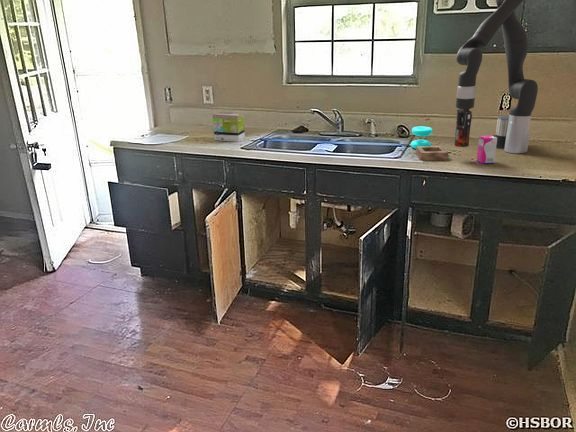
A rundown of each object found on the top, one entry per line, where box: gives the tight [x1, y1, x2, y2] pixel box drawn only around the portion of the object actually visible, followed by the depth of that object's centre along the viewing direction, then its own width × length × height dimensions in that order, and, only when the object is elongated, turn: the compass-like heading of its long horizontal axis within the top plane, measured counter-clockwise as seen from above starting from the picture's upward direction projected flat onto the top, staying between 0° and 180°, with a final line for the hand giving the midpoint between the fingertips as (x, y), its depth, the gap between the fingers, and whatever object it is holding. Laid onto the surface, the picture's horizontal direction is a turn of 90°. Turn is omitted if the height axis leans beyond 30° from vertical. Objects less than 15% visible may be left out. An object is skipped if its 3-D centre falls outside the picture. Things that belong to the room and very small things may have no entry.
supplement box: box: [476, 135, 497, 165], centre depth 207 cm, size 6×6×12 cm
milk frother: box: [491, 115, 509, 150], centre depth 235 cm, size 14×16×15 cm
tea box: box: [212, 111, 246, 143], centre depth 265 cm, size 15×10×15 cm
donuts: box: [410, 126, 433, 150], centre depth 236 cm, size 10×10×10 cm
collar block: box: [415, 145, 449, 161], centre depth 220 cm, size 12×12×4 cm
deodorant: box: [454, 110, 473, 148], centre depth 209 cm, size 6×6×15 cm
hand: (462, 135), depth 210 cm, fingers closed on deodorant, 6 cm apart
